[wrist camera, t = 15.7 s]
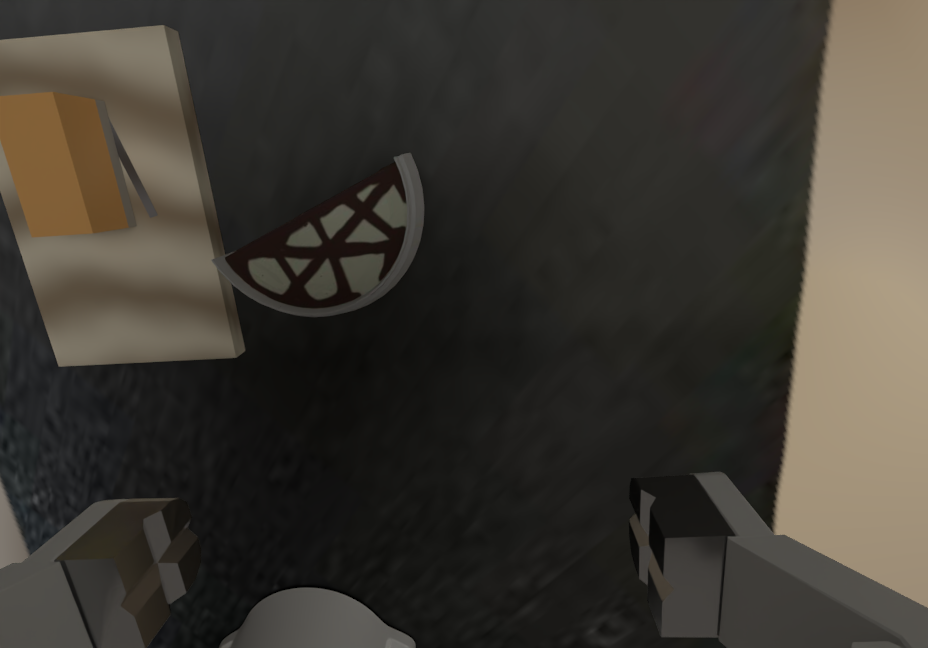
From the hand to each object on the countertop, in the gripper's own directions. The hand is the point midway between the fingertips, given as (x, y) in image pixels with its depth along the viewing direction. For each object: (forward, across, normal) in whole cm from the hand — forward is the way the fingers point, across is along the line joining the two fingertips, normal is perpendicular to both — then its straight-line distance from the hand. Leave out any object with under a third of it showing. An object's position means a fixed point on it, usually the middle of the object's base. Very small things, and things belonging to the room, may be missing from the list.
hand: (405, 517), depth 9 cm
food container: (+28, +7, -2) cm, 29 cm away
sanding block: (+26, +24, -8) cm, 37 cm away
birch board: (+28, +25, -6) cm, 37 cm away
